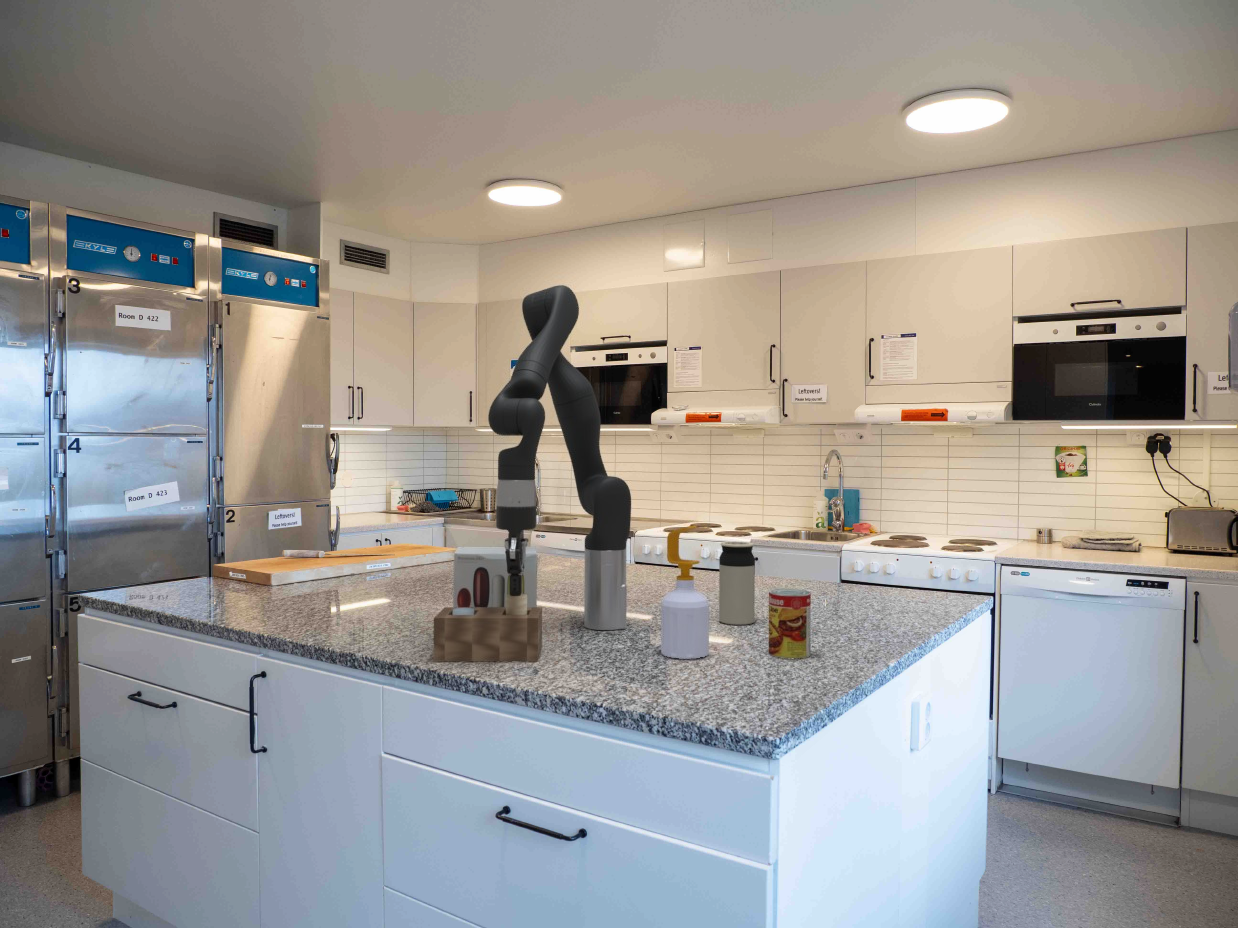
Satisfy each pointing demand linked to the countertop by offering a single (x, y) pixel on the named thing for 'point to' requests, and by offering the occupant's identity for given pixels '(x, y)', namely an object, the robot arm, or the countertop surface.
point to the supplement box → (490, 577)
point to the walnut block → (488, 635)
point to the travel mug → (736, 583)
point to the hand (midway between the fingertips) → (515, 595)
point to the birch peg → (516, 605)
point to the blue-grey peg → (463, 611)
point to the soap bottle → (684, 610)
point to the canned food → (789, 623)
